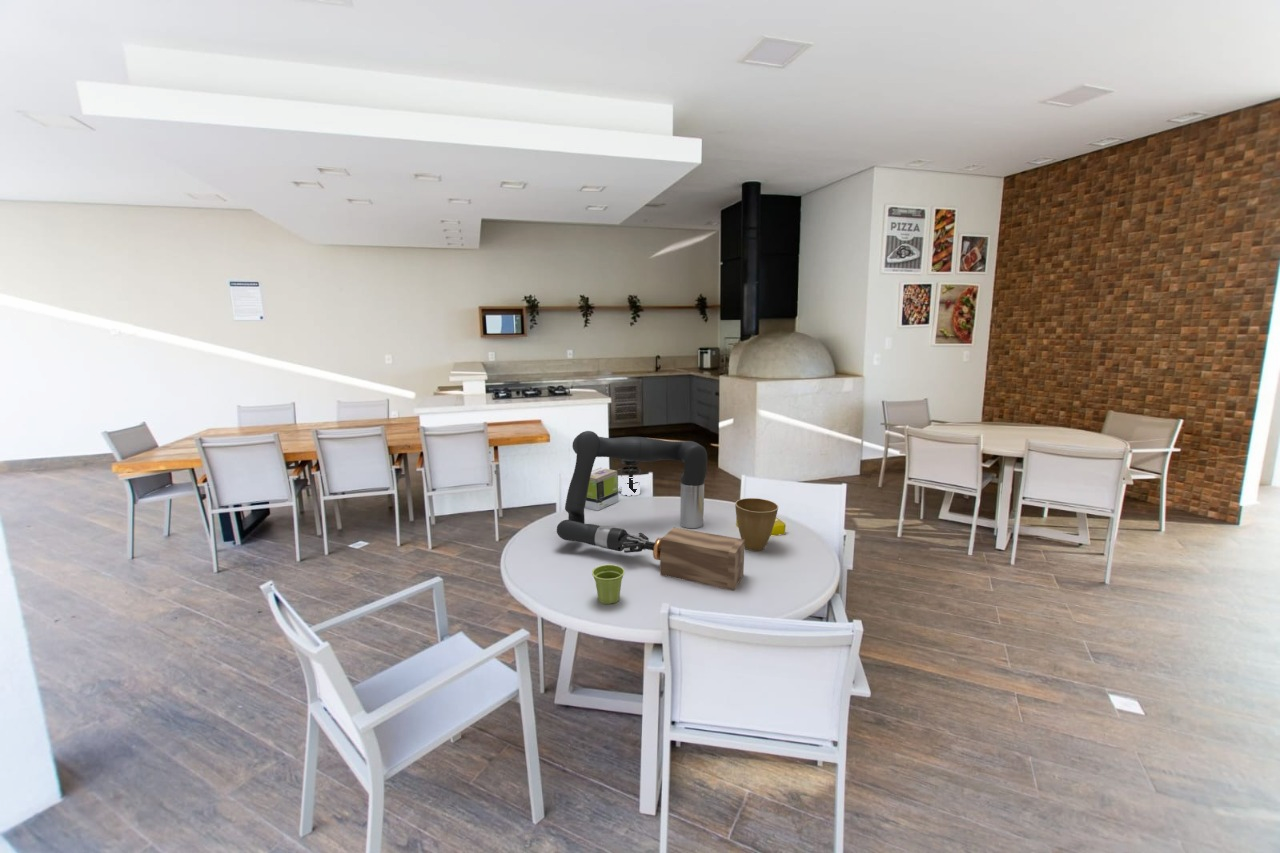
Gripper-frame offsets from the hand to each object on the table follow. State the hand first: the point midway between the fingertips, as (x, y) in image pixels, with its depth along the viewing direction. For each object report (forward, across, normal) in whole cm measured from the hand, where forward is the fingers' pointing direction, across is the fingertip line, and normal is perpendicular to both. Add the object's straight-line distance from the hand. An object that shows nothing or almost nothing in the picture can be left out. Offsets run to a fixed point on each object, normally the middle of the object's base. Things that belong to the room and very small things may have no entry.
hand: (657, 547), depth 178 cm
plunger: (+10, 0, +4) cm, 11 cm away
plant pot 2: (+26, +29, +7) cm, 39 cm away
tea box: (-48, +45, +7) cm, 66 cm away
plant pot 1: (-4, -26, +7) cm, 28 cm away
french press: (-43, +65, +7) cm, 78 cm away
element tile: (+23, +47, +7) cm, 53 cm away
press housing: (+15, 0, +7) cm, 17 cm away
